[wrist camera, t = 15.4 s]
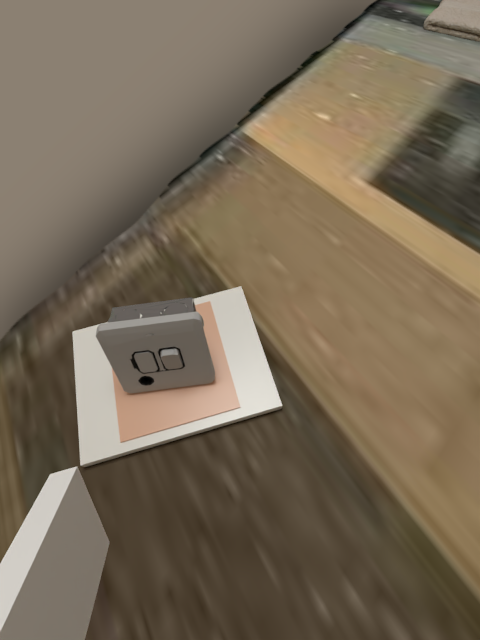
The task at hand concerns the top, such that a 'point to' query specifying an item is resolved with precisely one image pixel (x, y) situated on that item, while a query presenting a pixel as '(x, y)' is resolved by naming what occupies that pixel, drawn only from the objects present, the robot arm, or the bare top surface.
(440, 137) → the top surface
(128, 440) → the mounting plate
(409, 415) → the top surface
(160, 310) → the electrical switch
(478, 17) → the washcloth
